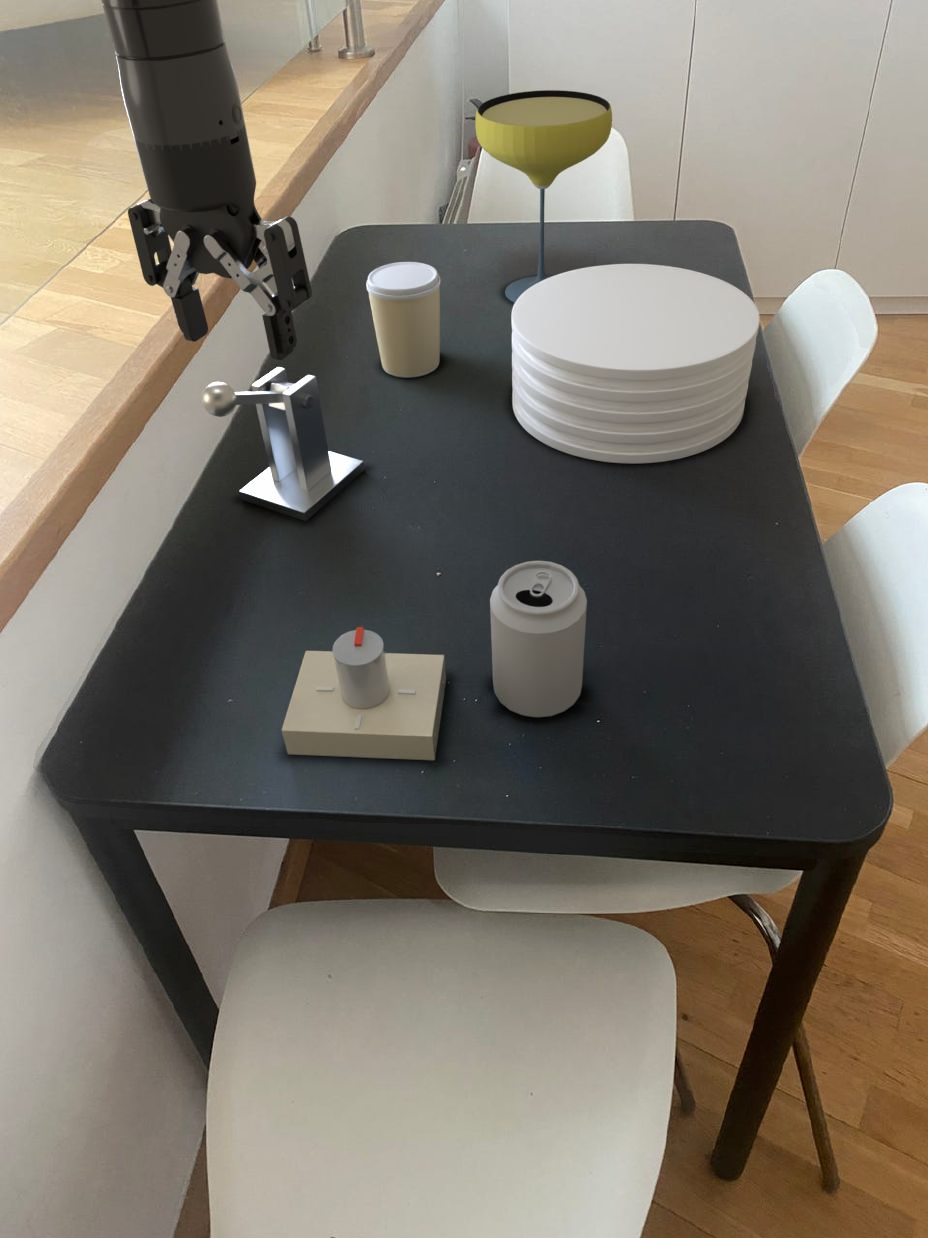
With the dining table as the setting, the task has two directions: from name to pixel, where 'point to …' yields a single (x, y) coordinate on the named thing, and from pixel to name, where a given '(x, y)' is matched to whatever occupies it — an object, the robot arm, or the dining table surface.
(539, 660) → the can
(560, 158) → the cocktail glass
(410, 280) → the coffee cup
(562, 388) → the plate stack
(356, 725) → the panel
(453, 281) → the dining table surface
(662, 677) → the dining table surface
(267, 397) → the tap lever
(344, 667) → the dial
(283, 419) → the tap bracket
